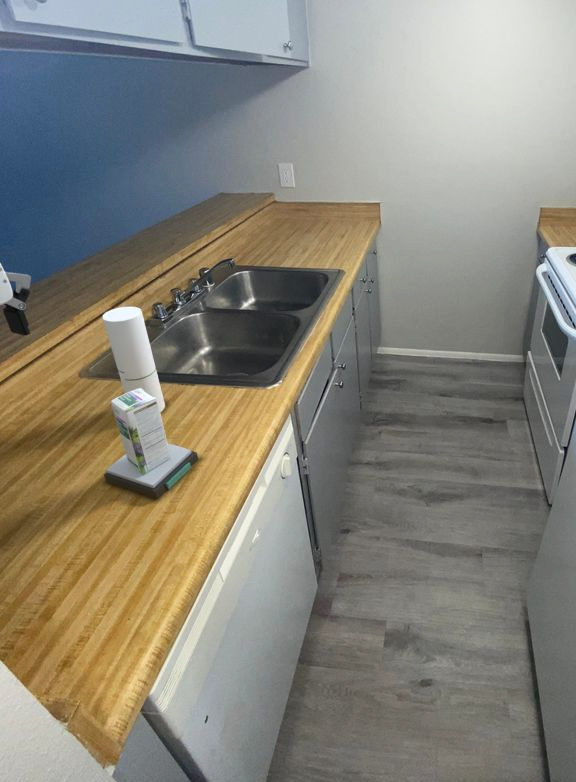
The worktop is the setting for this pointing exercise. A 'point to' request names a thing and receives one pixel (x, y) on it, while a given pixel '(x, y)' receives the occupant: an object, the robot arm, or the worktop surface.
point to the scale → (152, 473)
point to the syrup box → (141, 429)
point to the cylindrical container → (133, 351)
